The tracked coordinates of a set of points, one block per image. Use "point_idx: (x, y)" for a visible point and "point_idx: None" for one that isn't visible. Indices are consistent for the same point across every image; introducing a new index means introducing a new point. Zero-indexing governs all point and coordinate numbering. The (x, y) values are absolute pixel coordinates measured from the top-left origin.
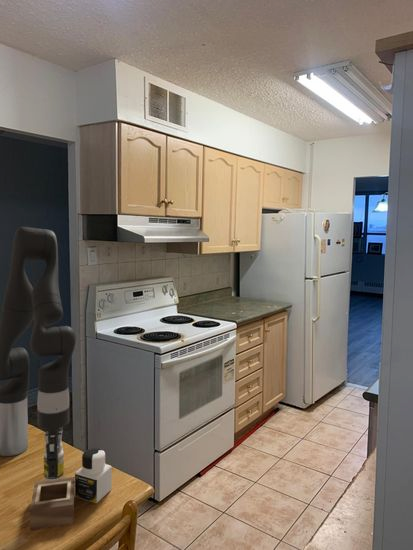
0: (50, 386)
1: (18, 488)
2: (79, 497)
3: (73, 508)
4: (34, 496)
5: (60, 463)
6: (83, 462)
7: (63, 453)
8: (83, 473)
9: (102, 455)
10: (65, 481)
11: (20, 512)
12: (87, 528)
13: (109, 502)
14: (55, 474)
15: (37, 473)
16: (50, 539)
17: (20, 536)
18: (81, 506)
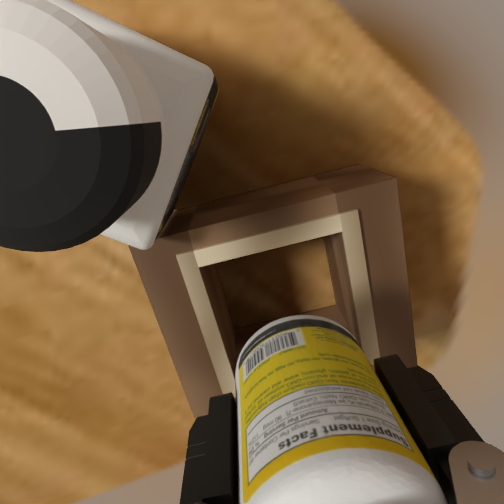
0: None
1: (137, 437)
2: (183, 185)
3: (367, 176)
4: None
5: (376, 400)
6: (123, 213)
7: (344, 456)
8: (155, 190)
9: (33, 6)
10: (186, 282)
11: None
12: (397, 88)
13: (201, 11)
14: (430, 374)
15: (22, 413)
16: (443, 227)
17: None
18: (239, 159)
